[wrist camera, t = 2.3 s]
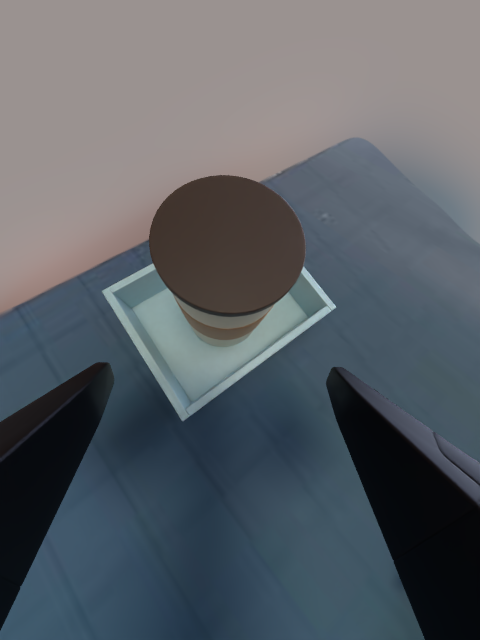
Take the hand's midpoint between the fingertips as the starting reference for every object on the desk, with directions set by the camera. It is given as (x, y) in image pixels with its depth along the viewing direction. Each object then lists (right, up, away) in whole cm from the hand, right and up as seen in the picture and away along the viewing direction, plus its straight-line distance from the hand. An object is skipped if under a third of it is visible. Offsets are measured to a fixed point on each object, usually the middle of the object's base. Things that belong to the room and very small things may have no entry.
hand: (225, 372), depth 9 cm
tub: (-1, +3, +13) cm, 13 cm away
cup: (-1, +3, +13) cm, 13 cm away
